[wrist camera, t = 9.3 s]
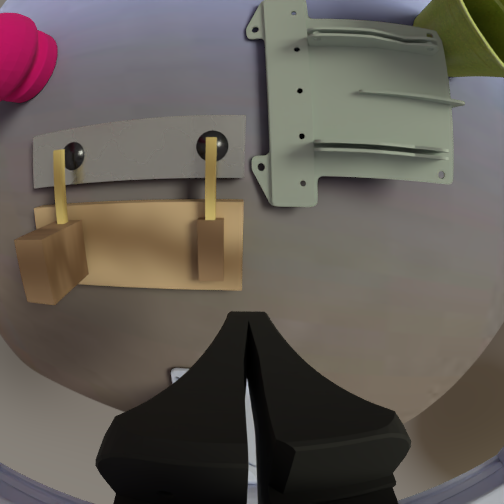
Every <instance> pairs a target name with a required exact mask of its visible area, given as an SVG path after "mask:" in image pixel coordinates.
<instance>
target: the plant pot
mask: <svg viewBox="0 0 504 504" xmlns="http://www.w3.org/2000/svg"><path fill="white" fill-rule="evenodd" d="M413 26H414V27H420V28H425V29H430V30H435V31H437V33H438V35H439V37H440V38H441V40H442V44H443V49H444V55H445V60H446V66H447V73H448V77H466V76H490V77H503V78H504V0H432V1H431V2H430V3H429V4H428V5H427V6H426V7H425V8H424V9H423V10H422V12H421V13H420V14H419V15H418V16H417V17H416V18H415V20H414V24H413ZM426 35H427V37H431V38H433V37H432V36H431V35H430V34H426Z"/></svg>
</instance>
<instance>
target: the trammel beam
mask: <svg viewBox="0 0 504 504" xmlns="http://www.w3.org/2000/svg"><path fill="white" fill-rule="evenodd" d="M216 157H217V138H216V137H206V159H205V199H169V200H129V201H104V202H85V203H69V204H67V214H68V220H82V227H83V236H84V244H85V252H86V259H87V266H88V272H89V274H88V275H87V276H86V277H85V278H84V279H83V280H82V281H81V282H79V283H78V284H84V285H100V286H118V287H139V288H163V289H195V290H242V250H243V200H239V199H216ZM34 213H35V222H36V230H37V229H39V228H41V227H43V226H45V225H48V224H50V223H52V222H55V221H57V217H56V206H55V204H54V205H42V206H39V207H36V208H34Z"/></svg>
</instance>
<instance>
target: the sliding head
mask: <svg viewBox="0 0 504 504" xmlns="http://www.w3.org/2000/svg"><path fill="white" fill-rule="evenodd" d="M53 170H54V192H55V206H56V217H57V221H55V222H52V223H50V224H48V225H45V226H43V227H41V228H39V229H37V230H34V231H32V232H30V233H28V234H26V235H24V236H22V237H19V238H17V239H15V240H14V241H15V247H16V253H17V258H18V263H19V268H20V273H21V277H22V282H23V286H24V290H25V294H26V298H27V301H28V302H33V303H41V304H48V305H56V304H57V303H58V302H59V301H60V300H61V299H62V298H63V297H64V296H65V295H66V294H67V293H68V292H69V291H71V290H72V289H73V288H74V287H75V286H76V285H77V284H78V283H79V282H81V281H82V280H83V279H84V278H85V277H86V276H87V275H88V274H89V272H88V266H87V259H86V252H85V244H84V236H83V227H82V220H68V214H67V202H66V187H65V149H60V150H54V151H53Z"/></svg>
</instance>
